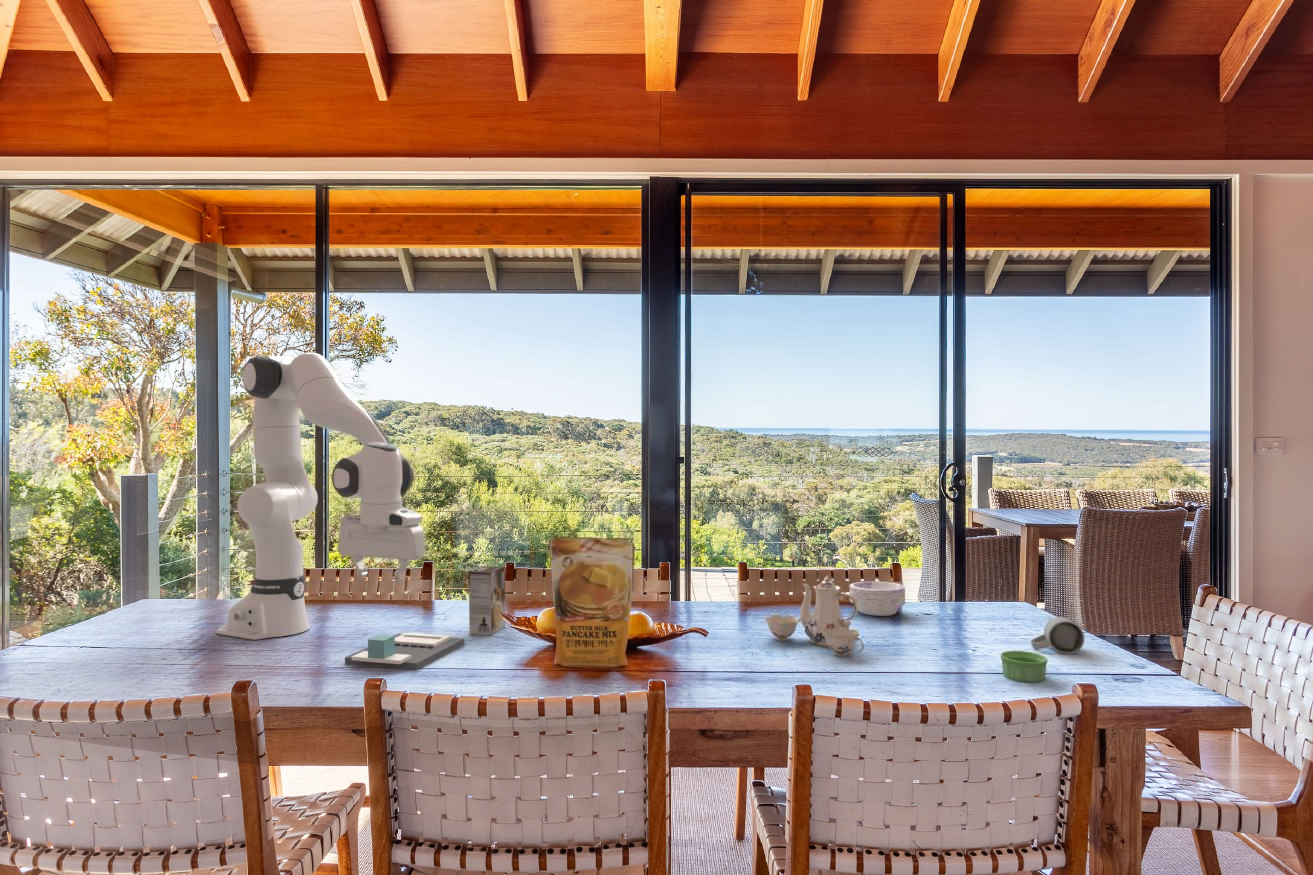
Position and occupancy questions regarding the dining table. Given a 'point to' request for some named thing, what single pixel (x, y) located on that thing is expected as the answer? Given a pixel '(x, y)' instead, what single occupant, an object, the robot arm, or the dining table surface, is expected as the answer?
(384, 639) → the stub
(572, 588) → the pancake mix bag
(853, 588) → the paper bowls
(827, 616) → the chinaware
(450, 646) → the board
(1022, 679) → the ramekin
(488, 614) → the coffee box
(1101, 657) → the dining table surface
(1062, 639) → the ceramic mug
